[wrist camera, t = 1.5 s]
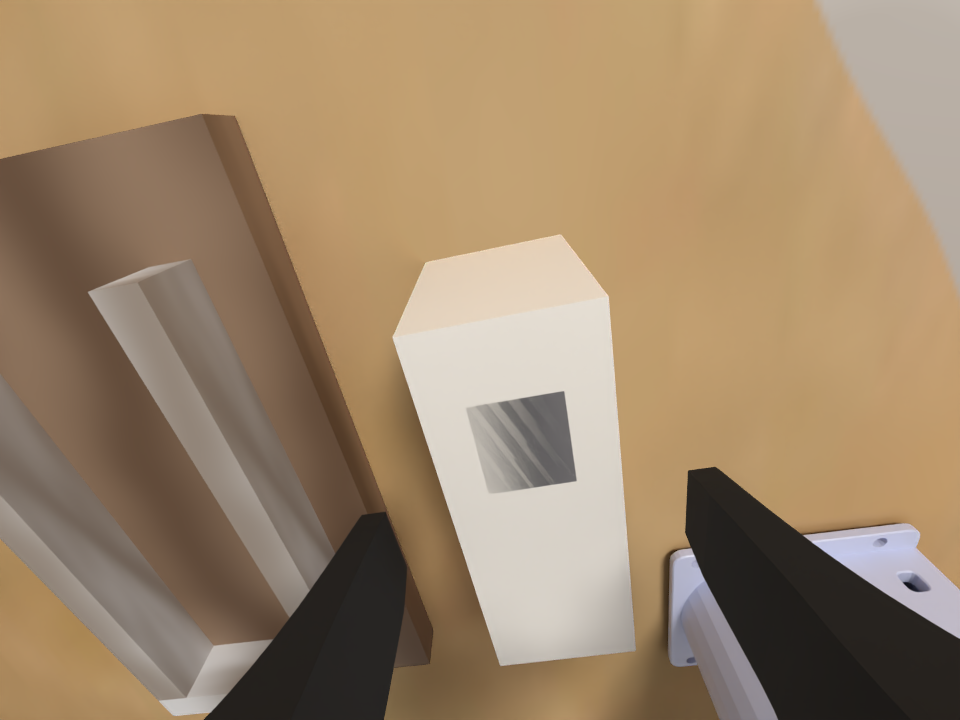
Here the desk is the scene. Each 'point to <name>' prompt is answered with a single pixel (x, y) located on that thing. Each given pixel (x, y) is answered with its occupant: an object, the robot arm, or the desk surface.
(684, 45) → the desk surface
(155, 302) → the cradle
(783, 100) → the desk surface
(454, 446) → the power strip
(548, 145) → the desk surface
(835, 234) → the desk surface
